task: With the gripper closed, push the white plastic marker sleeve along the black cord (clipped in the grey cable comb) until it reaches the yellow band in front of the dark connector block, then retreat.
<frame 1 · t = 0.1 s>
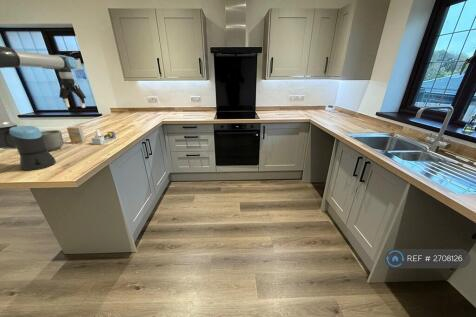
hand: (75, 107, 153), 28 cm above the counter, fingers open, 13 cm apart
supplement box: (78, 142, 160), on the counter
marker sleeve: (99, 135, 157), point 6 cm above the counter, slide at -5.0 cm
planter: (54, 149, 143), on the counter
cord rig: (105, 141, 164), on the counter
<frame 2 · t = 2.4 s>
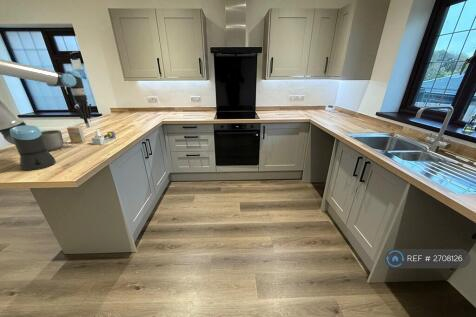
hand: (89, 127, 147), 15 cm above the counter, fingers closed
nothing on the counter moved.
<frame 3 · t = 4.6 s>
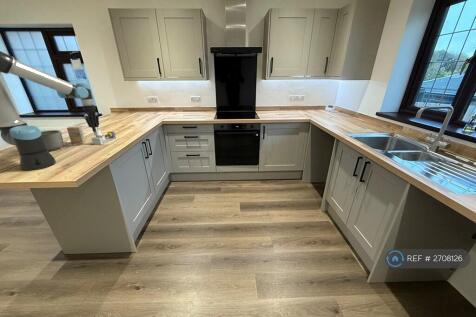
hand: (96, 135, 154), 7 cm above the counter, fingers closed
marker sleeve: (100, 135, 158), point 6 cm above the counter, slide at -3.9 cm, touching gripper
everything else where it was.
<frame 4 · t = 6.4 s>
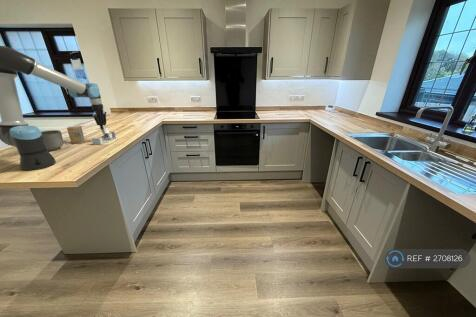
hand: (104, 132, 162), 7 cm above the counter, fingers closed
marker sleeve: (107, 133, 165), point 6 cm above the counter, slide at 4.2 cm, touching gripper
everything else where it was.
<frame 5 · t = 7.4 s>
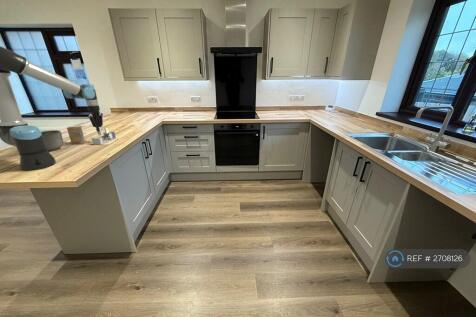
hand: (100, 134, 158), 6 cm above the counter, fingers closed
marker sleeve: (107, 133, 165), point 6 cm above the counter, slide at 4.3 cm
everything else where it was.
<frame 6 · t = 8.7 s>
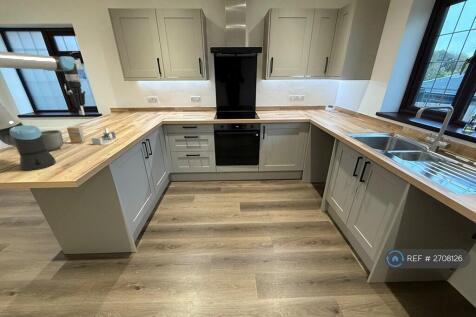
hand: (82, 114, 145), 24 cm above the counter, fingers closed
nothing on the counter moved.
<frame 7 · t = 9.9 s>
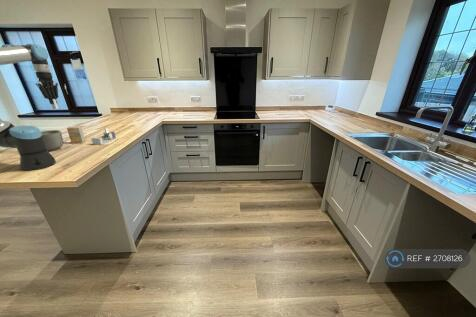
hand: (55, 108, 134), 29 cm above the counter, fingers closed
nothing on the counter moved.
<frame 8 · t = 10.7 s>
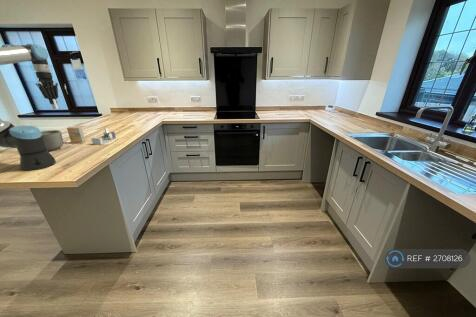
hand: (55, 108, 134), 29 cm above the counter, fingers closed
nothing on the counter moved.
at the end: marker sleeve slide at 4.3 cm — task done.
